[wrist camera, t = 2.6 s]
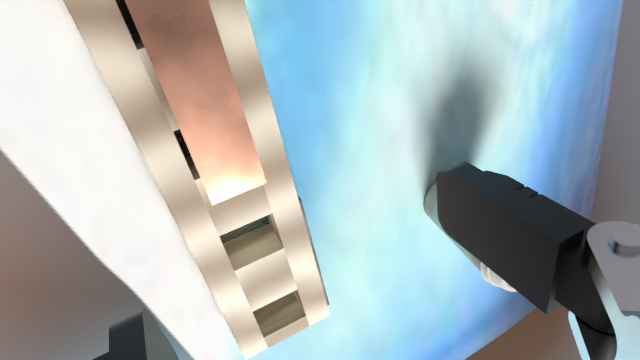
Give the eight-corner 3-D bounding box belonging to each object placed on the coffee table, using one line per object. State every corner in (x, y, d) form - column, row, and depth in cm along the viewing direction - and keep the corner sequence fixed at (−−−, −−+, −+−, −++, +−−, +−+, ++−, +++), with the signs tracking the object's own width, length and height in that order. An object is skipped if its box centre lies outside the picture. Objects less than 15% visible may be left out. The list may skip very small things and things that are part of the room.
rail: (26, -91, 21) (12, -100, 18) (196, -123, 24) (210, -136, 20) (234, 328, 41) (245, 359, 38) (315, 288, 43) (331, 314, 40)
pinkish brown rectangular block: (116, -21, 24) (119, -13, 17) (173, -35, 25) (198, -33, 18) (189, 150, 31) (212, 205, 24) (232, 134, 32) (266, 182, 25)
